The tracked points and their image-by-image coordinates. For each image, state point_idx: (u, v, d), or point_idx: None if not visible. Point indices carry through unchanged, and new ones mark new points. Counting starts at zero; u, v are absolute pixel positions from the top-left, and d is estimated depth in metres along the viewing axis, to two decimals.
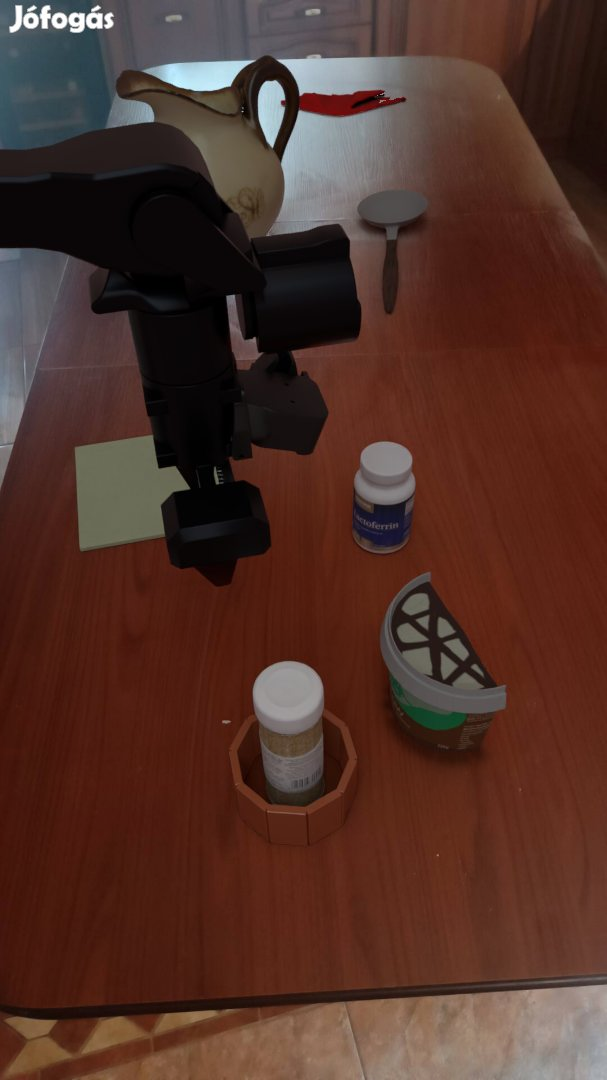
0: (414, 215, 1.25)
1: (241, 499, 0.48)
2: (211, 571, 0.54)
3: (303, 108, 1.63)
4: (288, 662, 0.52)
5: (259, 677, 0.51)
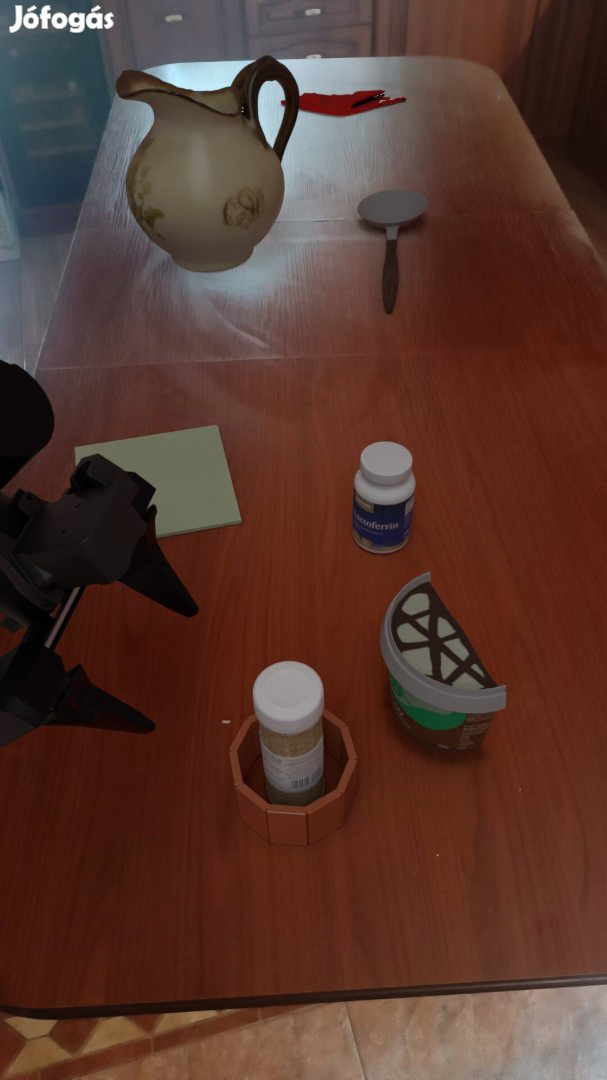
0: (414, 215, 1.25)
1: (4, 670, 0.42)
2: (106, 725, 0.47)
3: (303, 108, 1.63)
4: (288, 662, 0.52)
5: (259, 677, 0.51)
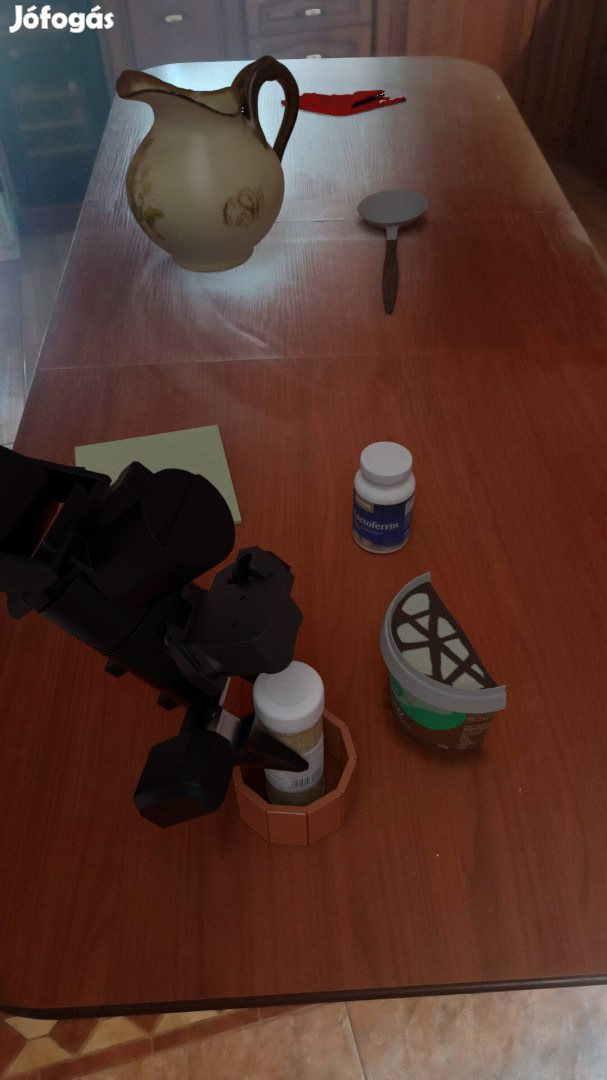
0: (414, 215, 1.25)
1: (180, 756, 0.45)
2: (267, 765, 0.52)
3: (303, 108, 1.63)
4: None
5: (259, 676, 0.51)
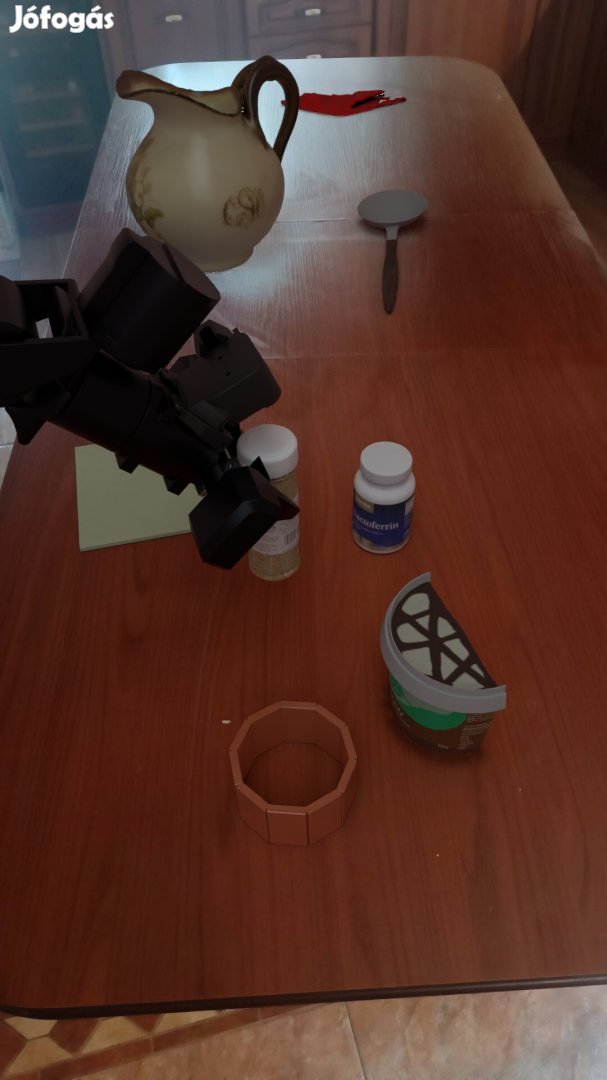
0: (414, 215, 1.25)
1: (231, 490, 0.51)
2: None
3: (303, 108, 1.63)
4: (254, 427, 0.60)
5: (239, 443, 0.59)
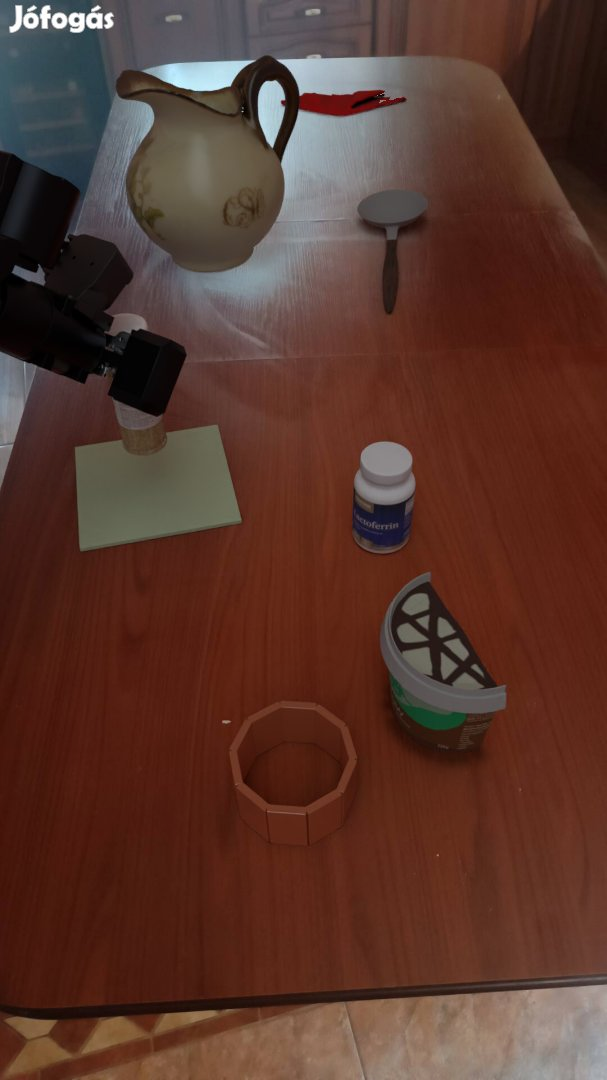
0: (414, 215, 1.25)
1: (143, 346, 0.64)
2: None
3: (303, 108, 1.63)
4: None
5: None
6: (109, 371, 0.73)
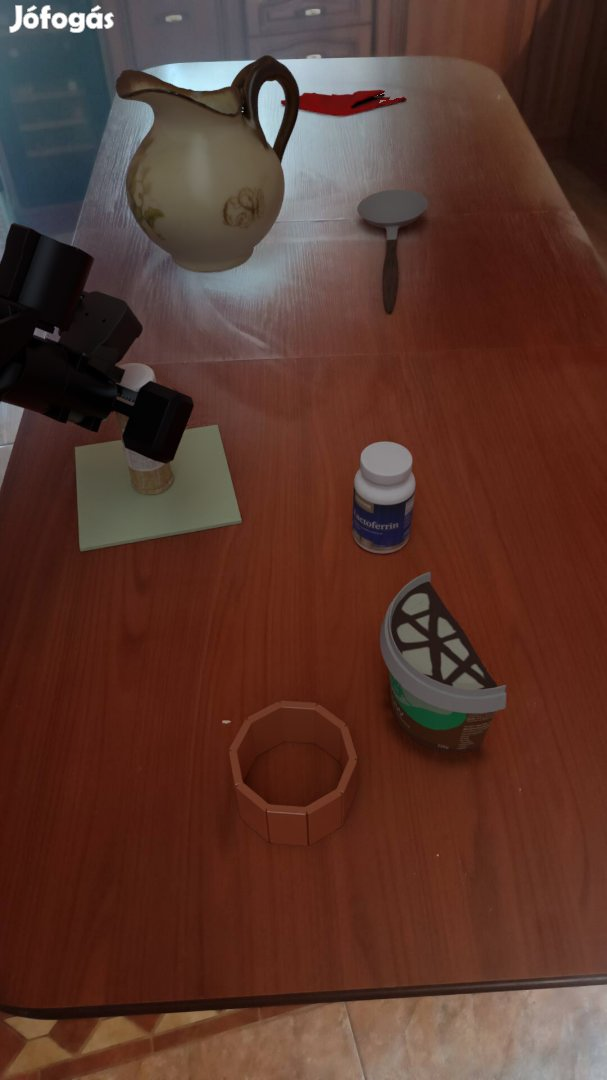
0: (414, 215, 1.25)
1: (153, 399, 0.67)
2: None
3: (303, 108, 1.63)
4: None
5: None
6: (118, 418, 0.76)
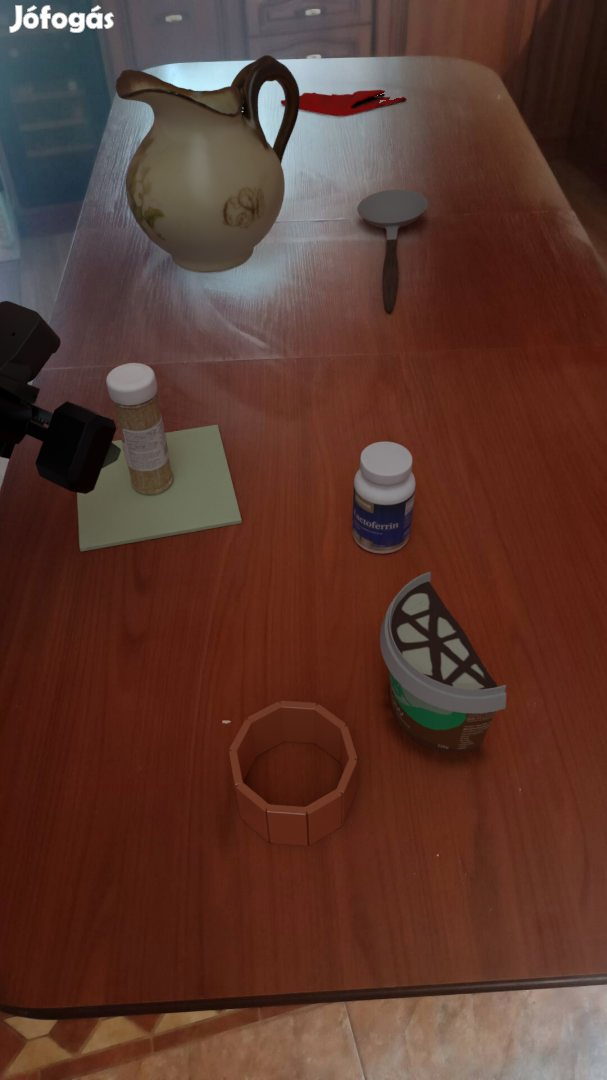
0: (414, 215, 1.25)
1: (68, 422, 0.60)
2: (105, 460, 0.68)
3: (303, 108, 1.63)
4: (111, 371, 0.75)
5: (111, 384, 0.74)
6: (118, 418, 0.76)
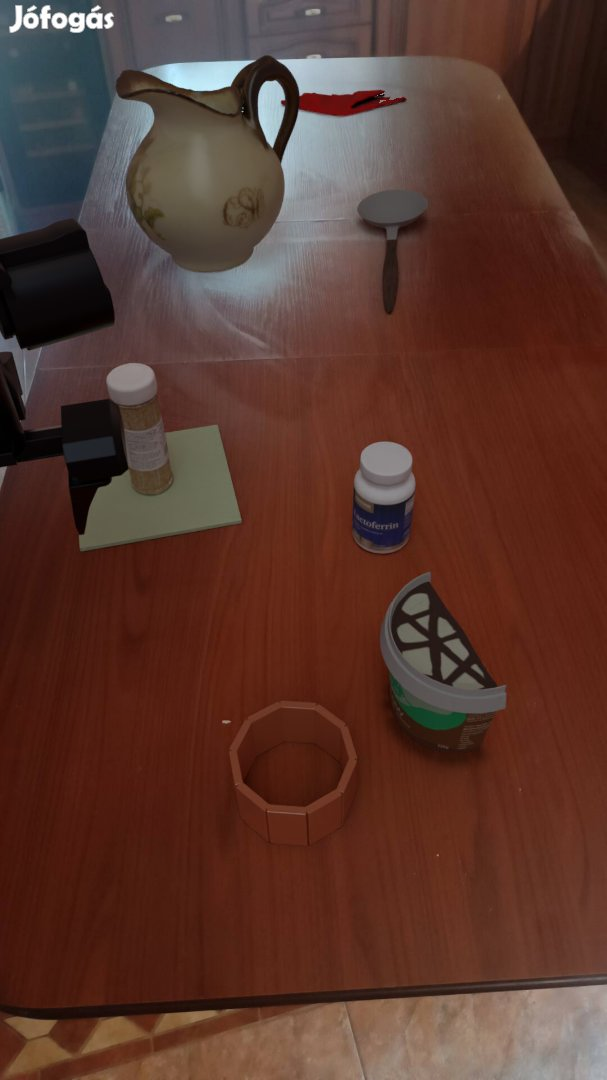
0: (414, 215, 1.25)
1: (85, 405, 0.56)
2: None
3: (303, 108, 1.63)
4: (111, 371, 0.75)
5: (111, 384, 0.74)
6: None
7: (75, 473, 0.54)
